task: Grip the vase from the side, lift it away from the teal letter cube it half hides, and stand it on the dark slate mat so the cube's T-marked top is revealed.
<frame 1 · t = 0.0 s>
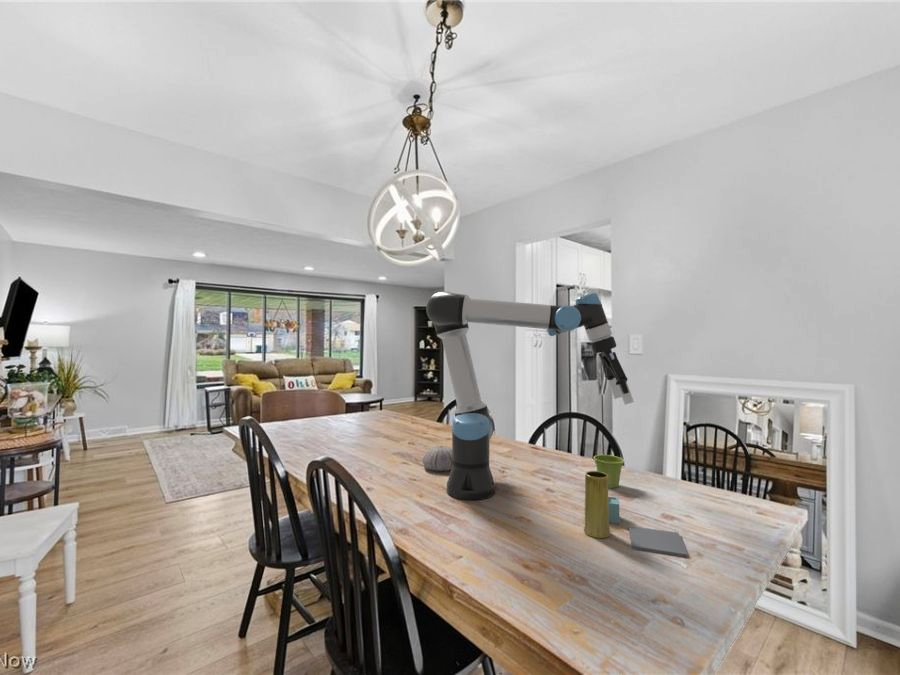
hand: (623, 400, 134), 28 cm above the table, tool tilted 20°, fingers open, 13 cm apart
slate mat: (656, 541, 95), on the table
vase: (596, 533, 100), on the table
sea urchin shell: (440, 468, 153), on the table
letter cube: (608, 518, 108), on the table
plant pot: (608, 485, 134), on the table
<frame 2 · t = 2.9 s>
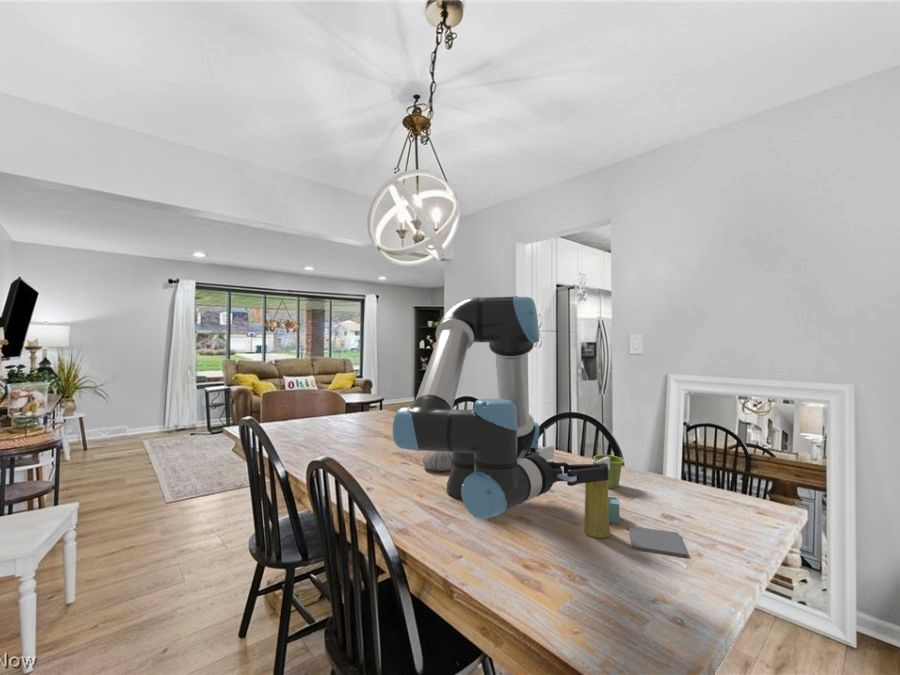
hand: (579, 457, 94), 20 cm above the table, tool horizontal, fingers open, 13 cm apart
nothing on the table moved.
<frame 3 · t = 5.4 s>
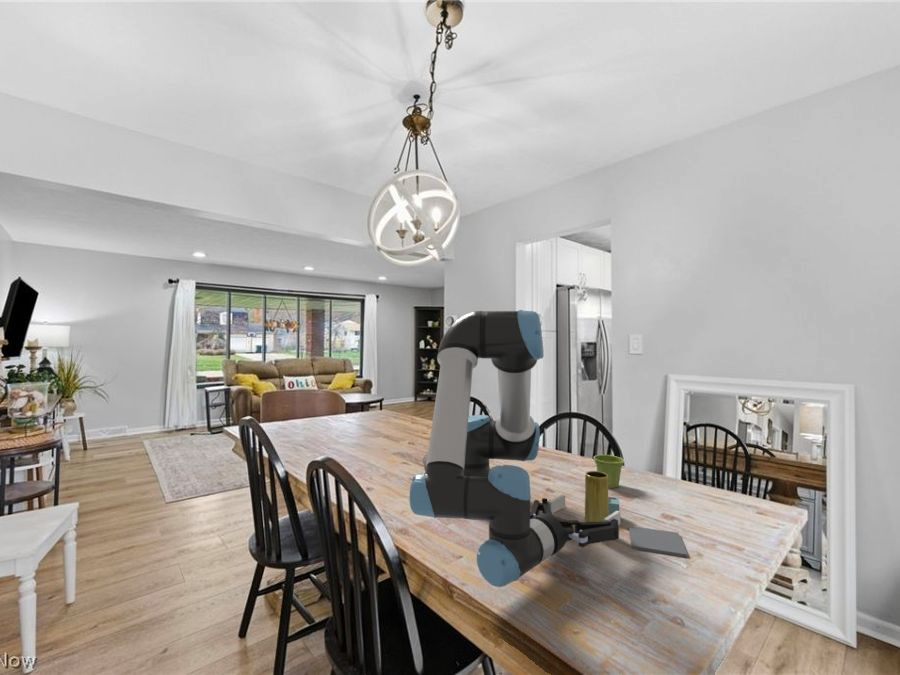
hand: (590, 508, 96), 7 cm above the table, tool horizontal, fingers open, 13 cm apart
nothing on the table moved.
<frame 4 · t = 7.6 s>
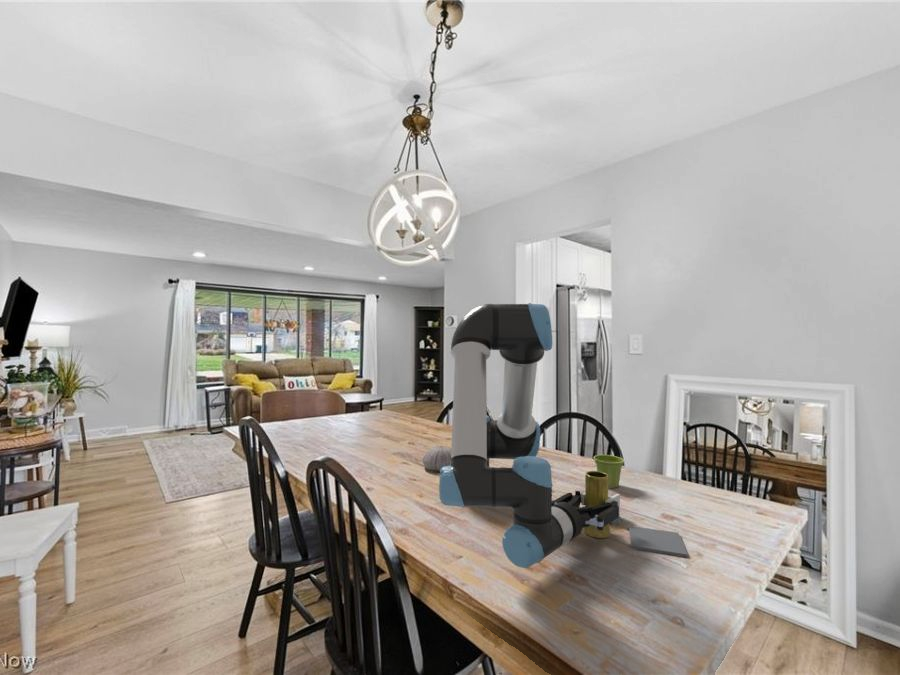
hand: (606, 496, 104), 8 cm above the table, tool horizontal, fingers closed on vase, 5 cm apart
vase: (597, 533, 100), on the table, touching gripper
everything else where it was.
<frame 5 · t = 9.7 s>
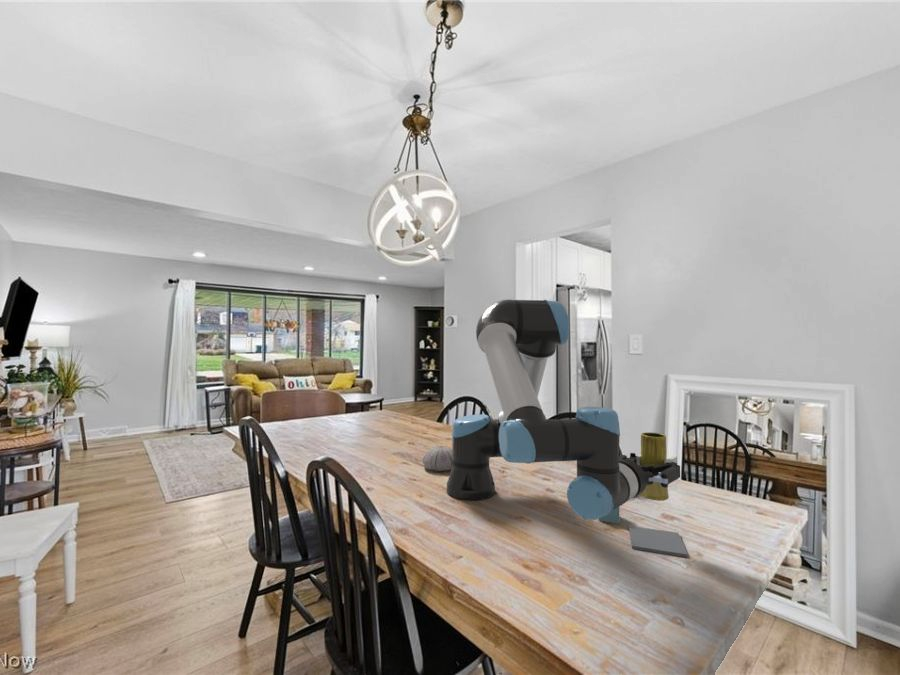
hand: (661, 459, 99), 18 cm above the table, tool horizontal, fingers closed on vase, 5 cm apart
vase: (654, 497, 95), point 10 cm above the table, touching gripper
everything else where it was.
when the fingers open (9 cm above the table, at t = 12.1 s): vase stays where it is, resting on slate mat.
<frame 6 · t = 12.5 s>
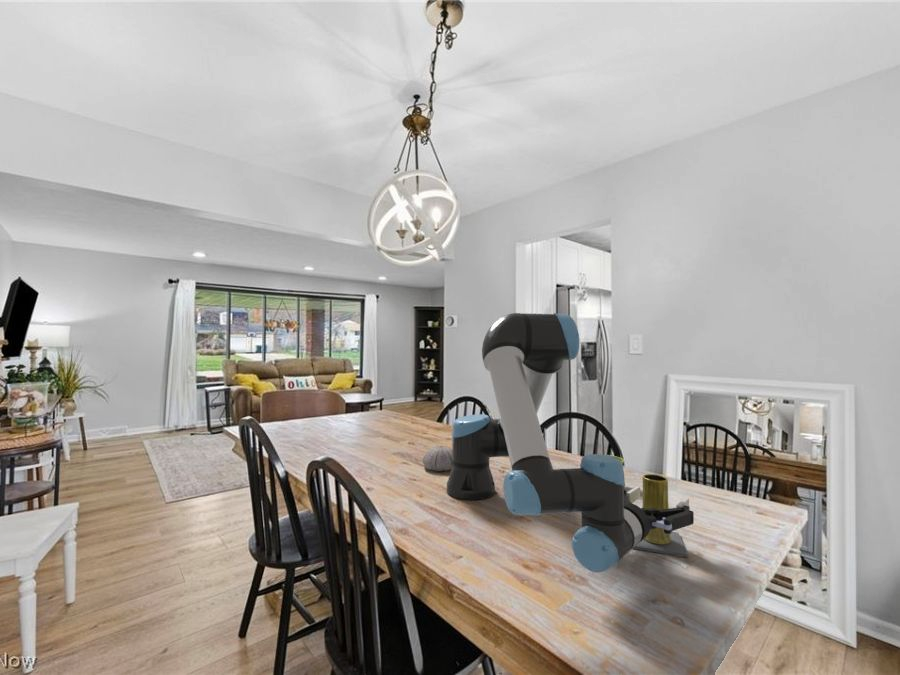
hand: (661, 497, 99), 9 cm above the table, tool horizontal, fingers open, 10 cm apart
vase: (656, 539, 95), resting on slate mat
everything else where it was.
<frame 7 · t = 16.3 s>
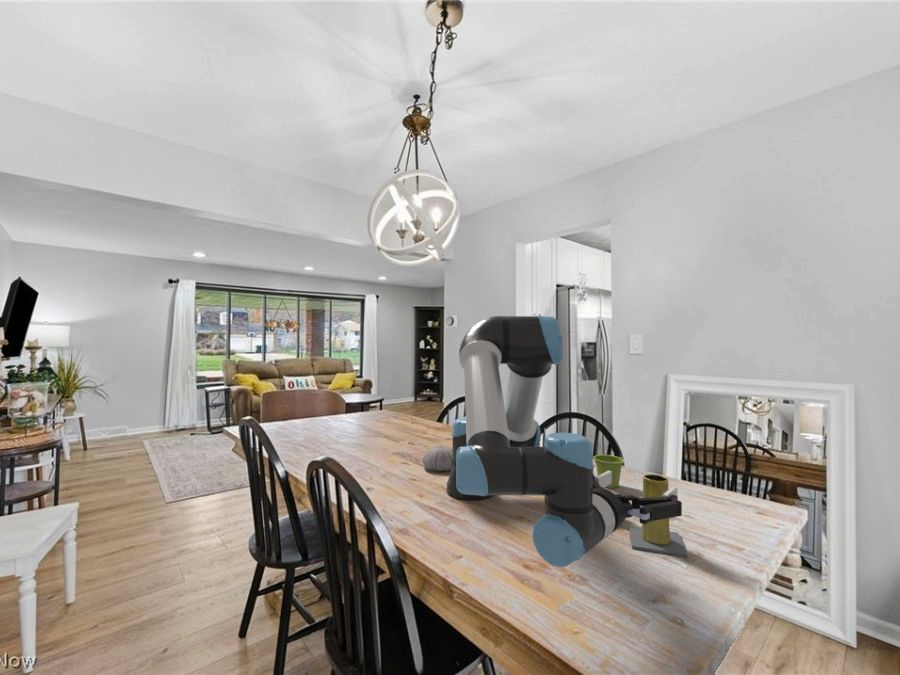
hand: (641, 484, 88), 16 cm above the table, tool horizontal, fingers open, 13 cm apart
nothing on the table moved.
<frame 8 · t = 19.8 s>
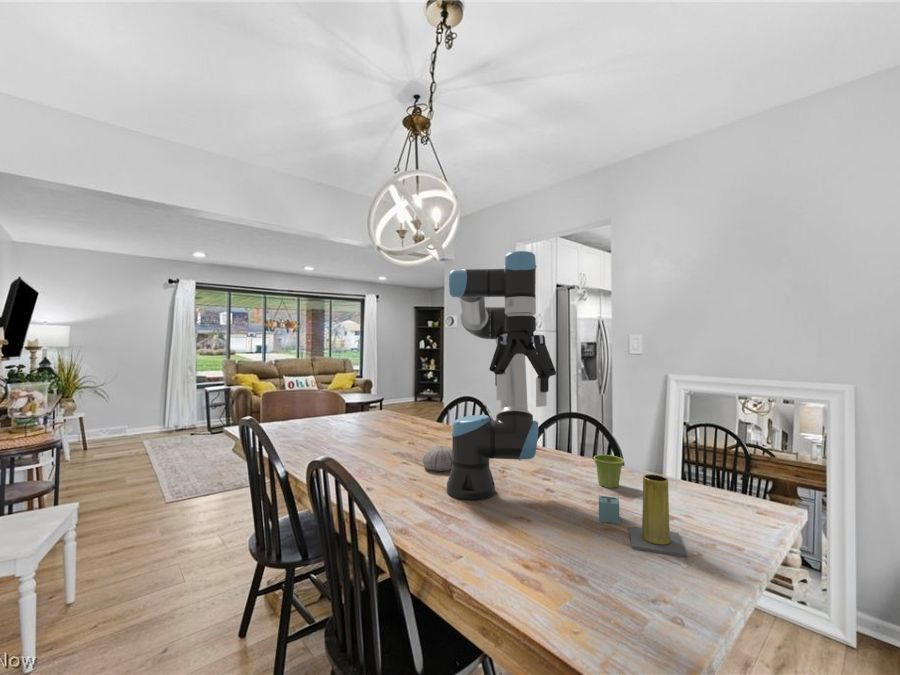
hand: (520, 403, 100), 32 cm above the table, tool pointing down, fingers open, 13 cm apart
nothing on the table moved.
at the end: vase inside the target area on the slate mat (0.1 cm from its centre), point 0.4 cm above the slate mat's base; vase tilted 0°; letter cube moved 0.1 cm from its start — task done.
